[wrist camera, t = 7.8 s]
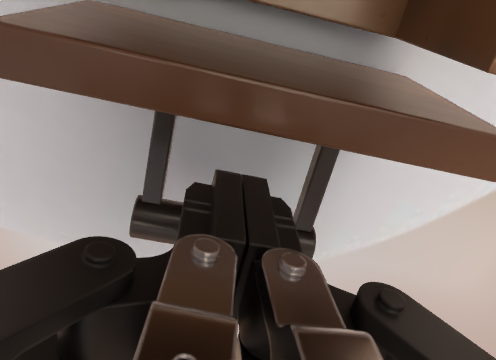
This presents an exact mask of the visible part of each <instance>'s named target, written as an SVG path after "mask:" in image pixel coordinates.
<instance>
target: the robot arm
mask: <svg viewBox="0 0 496 360" xmlns="http://www.w3.org/2000/svg"><path fill="white" fill-rule="evenodd" d="M238 324H239V334H238V338H237V332H238ZM0 360H496V359H495V358H494V357H493V356H491V355H490V354H488V353H487V352H486V351H484V350H483V349H481V348H480V347H478V346H477V345H476V344H474V343H473V342H472V341H470V340H469V339H468V338H466V337H465V336H463V335H462V334H461V333H459V332H458V331H456V330H455V329H454V328H452V327H451V326H450V325H448V324H447V323H445V322H444V321H443V320H441V319H440V318H439V317H437V316H436V315H434V314H433V313H432V312H430V311H429V310H427V309H426V308H425V307H423V306H422V305H421V304H419V303H418V302H416V301H415V300H413V299H412V298H411V297H409V296H408V295H407V294H405V293H404V292H402V291H400V290H399V289H397V288H395V287H393V286H390V285H387V284H384V283H379V282H368V283H365V284H363V285H362V286H361V287H360V288H359V291H358V292H357V295H354V294H352V293H349V292H346V291H344V290H341V289H339V288H336V287H334V286H331V285H329V284H327V282H326V280H325V278H324V275H323V273H322V271H321V269H320V267H319V266H318V264H317V263H316V262H315V261H314V260H313V259H311V258H310V257H309V256H307V255H305V254H303V251H302V247H301V244H300V240H299V236H298V233H297V230H296V226H295V222H294V221H293V215H292V212H291V208H290V207H289V206H288V205H287V204H286V203H285V202H284V201H283V200H282V199H281V198H277V197H272V196H270V192H269V187H268V183H267V179H264V178H259V177H254V176H248V175H243V174H242V175H241V174H238V173H233V172H227V171H222V170H217V169H216V170H215V173H214V177H213V181H212V185H208V184H202V183H197V182H194V183H193V184H192V185H191V186H190V187H188V188H187V189H186V192H185V197H184V202H183V208H182V213H181V218H180V223H179V228H178V233H177V238H176V242H175V244H174V246H173V248H172V249H171V250H170V251H168V252H166V253H164V254H162V255H159V256H154V257H146V258H136V254H135V252H134V251H133V249H132V248H131V247H130V246H129V245H127V244H126V243H124V242H122V241H120V240H117V239H114V238H109V237H101V236H94V237H87V238H82V239H79V240H76V241H73V242H71V243H68V244H66V245H63V246H61V247H58V248H56V249H53V250H51V251H48V252H45V253H43V254H40V255H38V256H35V257H32V258H30V259H27V260H25V261H22V262H20V263H17V264H15V265H12V266H9V267H7V268H4V269H2V270H0Z"/></svg>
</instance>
